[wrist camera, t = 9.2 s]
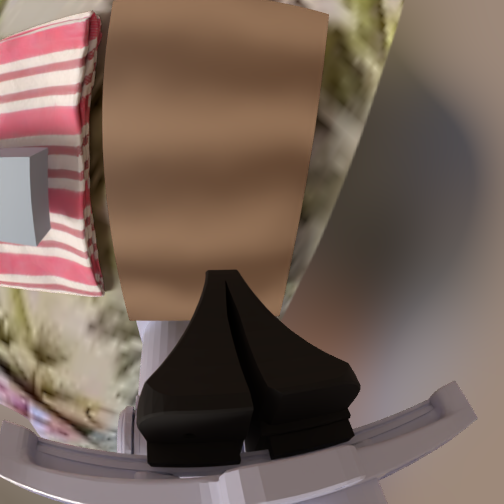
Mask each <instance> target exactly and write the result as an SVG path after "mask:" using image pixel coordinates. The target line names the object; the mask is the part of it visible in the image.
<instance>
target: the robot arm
mask: <svg viewBox="0 0 504 504" xmlns="http://www.w3.org/2000/svg"><path fill="white" fill-rule="evenodd" d="M137 325H138V329H139V333H140V336H141V340H142V344H143V345H142V355H141V365H140V377H139V391H138V395H137V396H136V408H135V410H134V407H132V406H127V407H126V408H125V409H124V410H123V411H121V412H120V415H119V421H118V432H117V453H115V452H107V451H100V450H94V449H88V448H83V447H77V446H73V445H68V444H63V443H59V442H55V441H51V440H47V439H44V438H40V437H37V436H36V434H35V433H34V432H32V431H31V430H30V429H28V428H26V427H24V426H21V425H18V424H15V423H12V422H9V421H6V420H3V422H2V427H1V431H0V477H2V478H4V479H6V480H7V481H9V482H11V483H13V484H15V485H17V486H20V487H22V488H24V489H26V490H28V491H31V492H33V493H36V494H38V495H41V496H44V497H47V498H50V499H53V500H56V501H59V502H62V503H65V504H388V503H387V501H386V498H385V495H384V493H383V490H382V488H381V485H380V483H379V480H381V479H383V478H385V477H387V476H389V475H391V474H393V473H395V472H397V471H399V470H401V469H403V468H405V467H407V466H409V465H411V464H412V463H414V462H416V461H418V460H419V459H421V458H423V457H425V456H426V455H428V454H430V453H431V452H433V451H434V450H436V449H438V448H439V447H440V446H442V445H444V444H445V443H447V442H448V441H450V440H451V439H452V438H454V437H455V436H457V435H458V434H459V433H461V432H462V431H463V430H464V429H466V428H467V427H468V426H469V425H471V424H472V423H473V422H474V421H476V420H477V416H476V414H475V413H474V411H473V409H472V407H471V406H470V404H469V402H468V400H467V399H466V397H465V395H464V394H463V392H462V391H461V389H460V387H459V386H458V384H457V383H456V381H452V382H451V383H449V384H447V385H445V386H443V387H441V388H440V389H438V390H437V391H436V392H434V394H432V396H431V397H430V398H429V399H428V400H426V401H424V402H422V403H419V404H417V405H415V406H413V407H411V408H408V409H406V410H404V411H401V412H399V413H397V414H394V415H392V416H389V417H386V418H384V419H381V420H379V421H376V422H373V423H370V424H368V425H365V426H362V427H358V428H355V429H352V427H351V425H350V422H349V420H348V419H349V418H350V416H351V415H350V412H349V410H348V407H349V406H350V404H351V403H352V402H353V401H354V399H355V398H356V396H357V395H358V393H359V391H360V383H359V381H358V380H357V377H356V375H355V373H354V372H353V370H352V368H351V367H350V365H349V364H348V363H347V362H345V361H342V360H340V359H338V358H336V357H334V356H332V355H329V354H327V353H325V352H324V351H322V350H320V349H318V348H317V347H315V346H313V345H312V344H310V343H308V342H307V341H305V340H304V339H302V338H301V337H299V336H298V335H297V334H295V333H294V332H292V331H291V330H290V329H289V328H287V327H286V326H285V325H284V324H283V323H282V322H281V321H279V320H278V319H277V318H276V317H275V316H274V315H273V314H272V313H271V312H270V311H269V310H268V309H267V308H266V307H265V305H264V304H263V303H262V302H261V301H260V300H259V298H258V297H257V296H256V295H255V294H254V292H253V291H252V290H251V289H250V287H249V286H248V284H247V283H246V282H245V280H244V279H243V277H242V276H241V274H240V273H239V271H238V270H237V269H234V270H208V271H206V272H205V283H204V287H203V291H202V294H201V297H200V300H199V302H198V305H197V307H196V309H195V312H194V314H193V316H192V318H191V320H186V321H137Z"/></svg>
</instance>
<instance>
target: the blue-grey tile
mask: <svg viewBox="0 0 504 504" xmlns="http://www.w3.org/2000/svg"><path fill="white" fill-rule="evenodd" d="M50 229H51V225H50V214H49V199H48V147H20V148H0V241H2V242H9V243H15V244H22V245H29V246H36V247H37V246H38V244H39V243H40V242H41V240H42V239H43V238H44V237H45V235H46V234H47V233H48V232H49V230H50Z"/></svg>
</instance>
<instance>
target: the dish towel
mask: <svg viewBox="0 0 504 504" xmlns="http://www.w3.org/2000/svg"><path fill="white" fill-rule="evenodd" d="M101 25H102V23H101V20H100V17H99V16H98V15H96V14H95V13H94V12H93V11H88V12H85V13H79V14H75V15H71V16H68V17H64V18H61V19H58V20H54V21H51V22H48V23H45V24H41V25H38V26H35V27H32V28H30V29H27V30H24V31H21V32H19V33H16V34H13V35H11V36H8V37H6V38H4V39H2V40H0V148H20V147H48V199H49V214H50V225H51V229H50V230H49V232H48V233H47V234H46V235H45V237H44V238H43V239H42V240H41V242H40V243H39V244H38V246H37V247H36V246H29V245H22V244H15V243H9V242H2V241H0V286H3V287H10V288H20V289H25V290H36V291H46V292H52V293H67V294H74V295H79V296H80V295H82V296H92V297H98V296H104V295H105V291H104V282H103V276H102V274H101V269H100V265H99V260H98V248H97V244H96V232H95V228H94V219H93V212H92V208H91V200H90V176H89V169H90V153H89V114H90V104H91V90H92V89H93V86H94V81H95V74H96V70H95V68H96V66H97V47H98V45H99V43H100V41H101V38H102V32H101V31H100V29H101Z"/></svg>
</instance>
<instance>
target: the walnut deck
mask: <svg viewBox="0 0 504 504" xmlns="http://www.w3.org/2000/svg"><path fill="white" fill-rule="evenodd" d="M328 19H329V14H326V13H322V12H318V11H315V10H311V9H307V8H303V7H298V6H294V5H289V4H284V3H279V2H274V1H268V0H117V1H113V6H112V11H111V17H110V23H109V29H108V37H107V45H106V54H105V65H104V78H103V102H102V136H103V160H104V175H105V187H106V197H107V206H108V214H109V222H110V229H111V235H112V241H113V247H114V253H115V259H116V264H117V269H118V274H119V279H120V283H121V288H122V292H123V297H124V301H125V305H126V309H127V313H128V317H129V320H130V321H186V320H191V318H192V316H193V314H194V312H195V309H196V307H197V305H198V302H199V300H200V297H201V294H202V291H203V287H204V283H205V272H206V271H208V270H234V269H237V270H238V271H239V273H240V274H241V276H242V277H243V279H244V280H245V282H246V283H247V284H248V286H249V287H250V289H251V290H252V291H253V292H254V294H255V295H256V296H257V297H258V298H259V300H260V301H261V302H262V303H263V304H264V305H265V307H266V308H267V309H268V310H269V311H270V312H271V313H272V314H273V315H274V316H280V311H281V307H282V302H283V298H284V293H285V289H286V284H287V280H288V275H289V270H290V265H291V260H292V256H293V251H294V246H295V241H296V235H297V230H298V225H299V220H300V215H301V209H302V204H303V198H304V193H305V187H306V181H307V175H308V169H309V163H310V157H311V151H312V145H313V138H314V132H315V125H316V118H317V111H318V104H319V97H320V90H321V82H322V74H323V66H324V57H325V48H326V39H327V29H328Z"/></svg>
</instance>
